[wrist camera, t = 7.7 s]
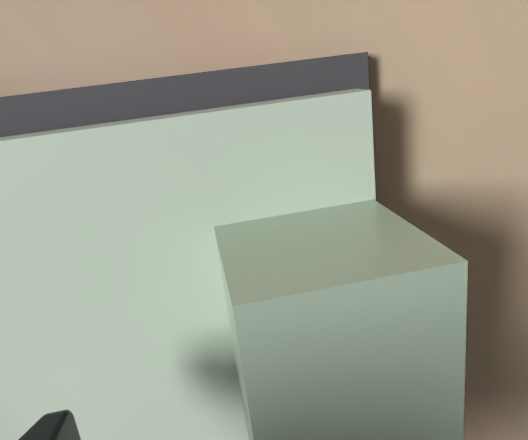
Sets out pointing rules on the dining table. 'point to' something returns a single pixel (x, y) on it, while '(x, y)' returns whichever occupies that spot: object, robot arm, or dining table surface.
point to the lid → (223, 282)
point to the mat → (180, 93)
